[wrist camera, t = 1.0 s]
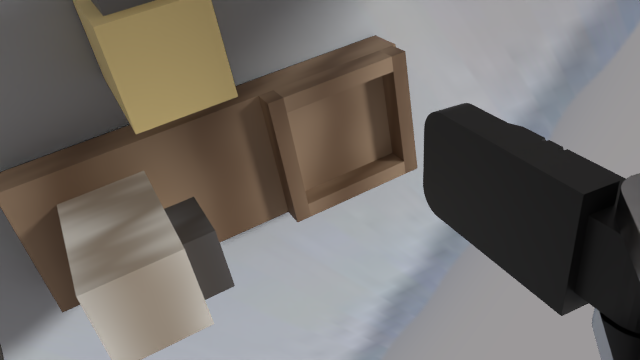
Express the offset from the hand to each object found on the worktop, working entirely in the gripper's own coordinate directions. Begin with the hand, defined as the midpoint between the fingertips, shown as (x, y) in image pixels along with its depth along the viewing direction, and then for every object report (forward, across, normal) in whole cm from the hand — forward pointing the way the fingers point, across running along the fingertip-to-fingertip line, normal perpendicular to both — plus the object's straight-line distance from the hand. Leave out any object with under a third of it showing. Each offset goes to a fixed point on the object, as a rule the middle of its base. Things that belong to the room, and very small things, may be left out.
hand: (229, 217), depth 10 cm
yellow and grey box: (+19, -2, +1) cm, 19 cm away
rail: (+19, -4, +9) cm, 21 cm away
